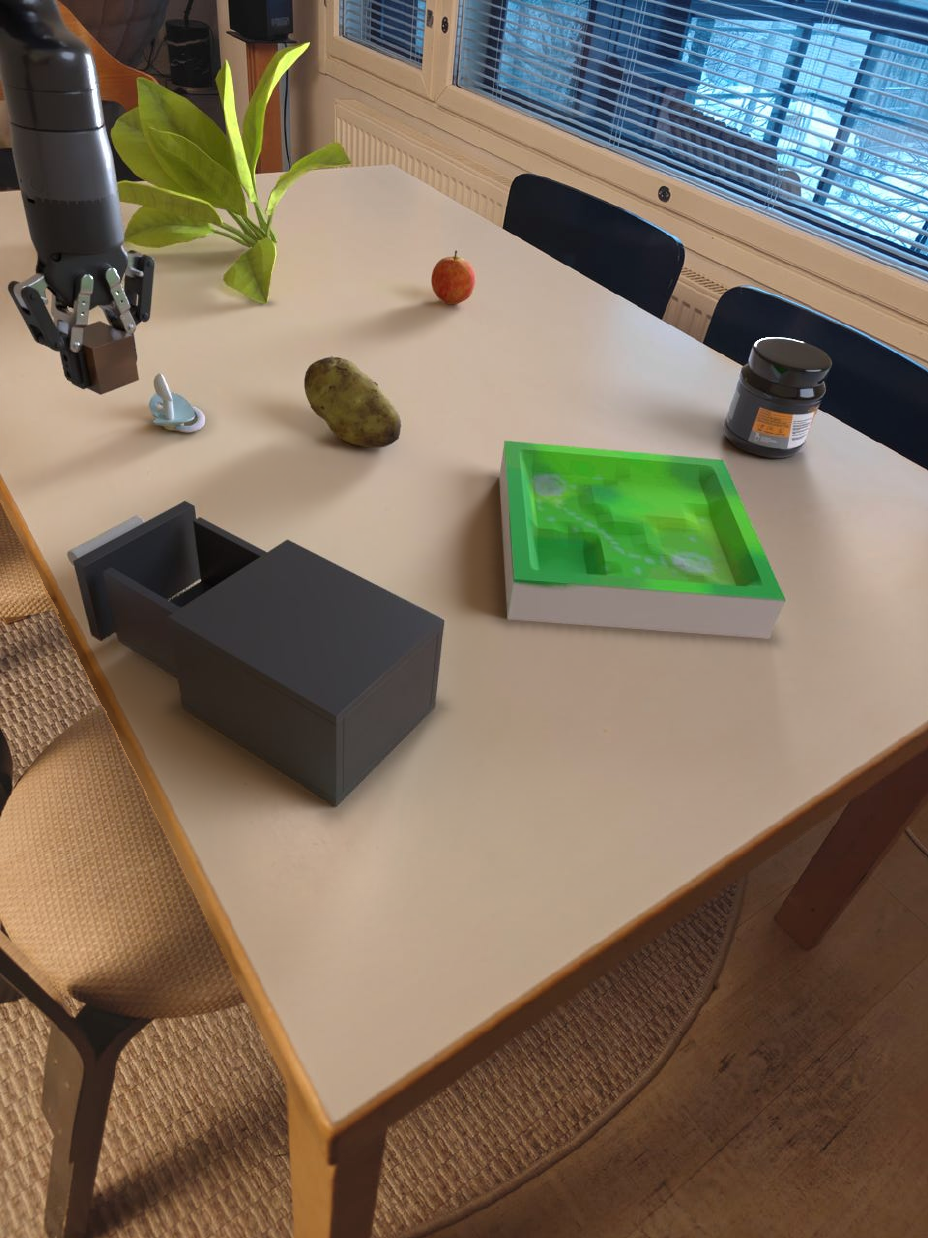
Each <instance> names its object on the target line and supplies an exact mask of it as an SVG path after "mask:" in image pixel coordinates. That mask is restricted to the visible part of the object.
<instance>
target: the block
mask: <svg viewBox="0 0 928 1238" xmlns="http://www.w3.org/2000/svg"><path fill="white" fill-rule="evenodd" d="M82 350H84V351H85V355H86V360H87V366H88V371H89V376H90V381H91V387H89V388H86V389H87V390H90V391H91V392H94V393H96V394H98V395H100V396H102V395H104V394H107V393H109V392H112V391H115V390H117V389H121V388H123V387H125V386H128V385H129V384H132V383H136V382H138V381H140V377H139V370H138V364H137V363H136V356H135V350H134V343H133V337H132V335H131V334H129V333H126V332H124V331H122V330H119V329H117V328H115V327H112V326H110V325H109V323H105V322H104V321H101V320H99V321H96V322H93V323H88V325H87V326H86V327H84V331H83V343H82Z"/></svg>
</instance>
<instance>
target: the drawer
mask: <svg viewBox="0 0 928 1238" xmlns="http://www.w3.org/2000/svg"><path fill="white" fill-rule="evenodd" d="M267 552H268V551H266V550H263V549H262V548H260V547H258V546H256V545H254V544H253V543H250V542H249V541H247V540H245V539H243V538H241V537H239V536H237V535H236V534H233V533H231V532H230V531H227V530H225V529H224V528H222V527H220V526H218V525H216V524H214V523H212V522H210V521H209V520H207V519H205V518H203V517H200V516H199V517H197V512H196V506H195V505H194V504H192V503H191V502H189V501H187V500H184V501H181V502H180V503H178V504H176V505H174V506H172V507H170V508H169V509H166V510H165V511H163V512H161V513H159V514H157V515H156V516H154V517H152V518H149V519H148V520H146V521H145V520H144V519H143V518H142V517H141V516H139V515H134V516H132V517H130V518H129V519H127V520H125V521H123V522H121V523H119V524H117V525H116V526H113V527H112V528H109V529H108V530H105V531H104V532H102V533H99V534H98V535H96V536H94V537H92V538H91V539H89V540H86V541H85V542H83V543H81V544H79V545H77V546H75V547H73V548H72V549H70V550H68V551H67V552H66V556H67V559H68V561H69V562H70V564H71V565H72V566H73V567H74V571H75V575H76V579H77V583H78V587H79V591H80V596H81V600H82V602H83V606H84V607H83V608H84V611H85V616H86V619H87V623H88V627H89V631H90V635H91V636H92V637H93V638H95V639H96V640H98V641H100V642H102V641H104V640H105V639H107V638H109V637H110V636H112V635H114V634H115V633H116V638H117V642H118V643H120V644H122V645H123V646H125V647H127V648H128V649H129V650H131V651H133V652H135V653H136V654H138V655H140V656H141V657H143V658H144V659H146V660H147V661H149V662H150V663H152V664H153V665H155V666H156V667H159V668H160V669H162V670H164V671H165V672H167V673H168V674H170V675H171V676H172V677H174V678H176V679H178V677H177V671H176V665H175V659H174V653H173V647H172V641H171V635H170V629H169V623H168V616H169V615H171V614H173V613H174V612H176V611H177V610H179V609H180V608H182V607H183V606H185V605H186V604H188V603H190V602H191V601H193V600H194V599H196V598H197V597H199V596H200V595H202V594H203V593H205V592H207V591H208V590H210V589H211V588H213V587H214V586H216V585H217V584H219V583H221V582H222V581H224V580H225V579H227V578H228V577H230V576H231V575H233V574H234V573H236V572H238V571H239V570H241V569H242V568H244V567H245V566H247V565H248V564H250V563H251V562H253V561H255V560H256V559H258V558H259V557H261V556H262V555H264V554H265V553H267ZM198 581H199V582H198ZM196 582H197V583H196ZM195 583H196V584H195ZM193 584H194V585H193ZM191 585H192V586H191ZM190 586H191V587H190ZM188 587H190V588H188ZM186 588H188V589H186ZM185 589H186V590H185ZM184 590H185V591H184ZM182 591H183V592H182ZM181 592H182V593H181ZM179 593H180V594H179ZM177 594H179V595H177ZM174 596H176V597H174ZM171 598H172V599H171Z"/></svg>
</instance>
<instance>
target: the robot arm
mask: <svg viewBox="0 0 928 1238" xmlns="http://www.w3.org/2000/svg"><path fill="white" fill-rule="evenodd" d="M0 84H1V88H2V93H3V97H4V103H5V107H6V112H7V117H8V120H9V121H8V122H9V129H10V138H11V139H10V140H11V150H12V151H11V152H12V158H13V162H14V167H15V171H16V176H17V181H18V186H19V188H20V195H21V201H22V203H23V208H24V209H23V210H24V213H25V214H24V215H25V219H26V223H27V228H28V232H29V236H30V241H31V242H32V245H33V246H34V249H35V252H36V255H37V259H36V265H35V273H34V274H33V275H32V276H30V277H28V278H26V279H25V280H24V281H22V282H20V281H18V280H12V281H10V282H9V283H8V285H7V290H8V293H9V295H10V297H11V299H12V300H13V302H14V304H15V306H16V308H17V310H18V312H19V313H20V315H21V317H22V319H23V321H24V323H25V325H26V326H27V328H28V330H29V332H30V335H31V336H32V338H33V340H34V341H35V342H36V343H37V344H39V345H42V346H45V347H47V348H49V349H50V350H52V351H54V352H57V353H58V352H59V357H60V361H61V365H62V371H63V375H64V377H65V379H66V380H67V381H68V382H70V383H71V384H72V385H73V386H76V387H78V388H79V389H81V390H86V389H87V388H89V387H91V381H90V376H89V371H88V366H87V360H86V355H85V351H84V350H82V343H83V331H84V327H86V326H87V325H89V316H90V311H92V310H94V309H95V308H97V307H99V308H100V309H101V310H102V312H103V315H104V317H105V319H106V320H107V324H108V325H110V326H112V327H115V328H117V329H119V330H122V331H124V332H126V333H129V334H131V335H132V337H133V343H134V350H135V356H136V363H137V362H138V353H137V346H136V345H137V344H136V339H135V338H136V337H135V332H136V330H137V327H138V325H140V324H141V323H142V322H143V323H147V322H149V321H150V319H151V311H152V300H153V288H154V277H155V266H156V261H155V259H154V257H152V256H150V255H147V254H144V253H141V252H139V251H137V250H133V249H130V250H128V251H126V250H125V248H124V246H123V244H124V242H125V241H124V239H125V235H124V233H125V229H124V222H123V217H122V216H123V214H122V208H121V202H120V201H119V194H118V187H117V182H118V180H117V175H116V168H115V162H114V161H115V159H114V156H113V150H112V146H111V143H110V140H109V136H108V131H107V127H106V124H105V123H106V122H105V115H104V107H103V102H102V96H101V87H100V81H99V76H98V70H97V66H96V60H95V57H94V54H93V53H92V50H91V48H90V47H89V46H88V44H87V43H86V42H85V41H83V39H82V38H80V37H79V36H77V35H76V34H75V33H74V32H72V31H71V30H70V28H68V27H67V25H66V23H65V22H64V20H63V17H62V15H61V12H60V8H59V6H58V3H57V0H0ZM123 278H124V282H123V286H122V281H123ZM46 290H48V291H49V292H50V293H51V304H50V312H49V310H48V308H47V306H46V305H47V304H49V299H47V296H46ZM69 308H70V309H72V311H71V310H69Z"/></svg>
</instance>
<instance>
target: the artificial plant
mask: <svg viewBox="0 0 928 1238" xmlns="http://www.w3.org/2000/svg"><path fill="white" fill-rule="evenodd" d="M310 43H311V42H310V41H309V42H304V43H301V44H298V45H295V46H287V47H284V48H283V49H280V50H278V51H276V52H275V54H274V55H273V56H272V58H271V59H270V61H269V62H268V63H267V65H266V68H265V69H264V72H263V73H262V75H261V78H260V80H259V81H258V84H257V86H256V87H255V90H254V92H253V94H252V96H251V98H250V99H249V101H248V105H247V108H246V111H245V113H244V117H243V120H242V124H241V131H240V128H239V124H238V117H237V113H236V106H235V95H234V86H233V79H232V71H231V68H230V65H229V61H228V60H227V59H225V60H224V62H223V65H222V67H221V68H220V69H219V70H218V72H217V74H216V77H215V80H214V81H215V83H216V87H217V91H218V94H219V98H220V103H221V107H222V111H223V113H224V119H225V120H224V122H225V126H226V132H227V135H228V137H227V135H226V134H225V133H224V131H223V130H222V129H221V128H220V127H219V126H218V125H217V123H216V122H215V121H214V120H213V119H212V118H210V116H208V115H207V114H206V113H204V112H203V111H202V110H201V109H199V108H198V107H197V106H196V105H195V104H194V103H192V102H191V101H190V100H189V99H188V98H186V97H184V96H182V95H180V94H178V93H176V92H174V91H173V90H171V89H170V88H169V89H168V88H166V87H164V86H163V85H161V84H159V83H157V82H155V81H153V80H150V79H148V78H145V77H141V76H138V77H136V89H137V104H138V105H137V106H136V107H133V108H131V110H129V111H127V112H124V113H123V114H122V115H121V116H119V117H118V118H117V119H116V121H115V123H114V125H113V127H112V128H111V129H110V138H111V141H112V144H113V147H114V150H115V151H116V152H117V154H118V155H119V157H120V159H121V160H122V162H123V163H124V164H125V165H126V167H127V168H129V170H130V171H131V172H132V173H133V174H134V175H135V176H136V177H137V178H140V179H142V180H143V181H145V182H147V183H143V182H136V181H132V180H127V179H124V180H120V181H117V187H118V194H119V201H120V203H124V204H125V203H126V204H130V205H131V204H132V205H137V206H140V207H139V208H138V209H137V210H136V211H135V212H134V213H133V214H132V216H131V219H130V220H129V222H128V224H127V226H126V229H125V230H124V235H125V239H124V242H126V243H129V244H133V245H135V246H140V247H143V248H154V249H160V248H165V247H168V246H172V245H175V244H181V243H188V242H191V241H194V240H196V239H201V238H206V237H208V236H210V235H213V234H216V235H220V236H223V237H226V238H229V239H231V240H233V241H234V242H237V243H238V244H240V245H242V246H245V247H247V248H249V249H248V250H246V251H245V252H244V253H243V254H241V255H240V256H239V257H238V258H237V259H236V260H235V261H234V263H233V264H232V265H231V266H230V267H229V268H228V269H227V271H225V273H224V274H223V277H222V281H223V282H224V284H225V285H226V286H228V287H229V288H231V289H232V290H235V291H237V292H239V293H241V294H243V295H244V296H245V297H247V298H249V299H251V300H252V301H255V302H258V303H260V304H264V305H266V304H267V303H268V301H269V295H270V288H271V284H272V283H271V282H272V273H273V271H274V266H275V262H276V260H277V259H276V258H277V247H276V244H277V243H278V241H279V237H278V235H277V233H276V231H275V229H273V227H272V221H273V216H274V213H275V211H276V208H277V206H278V204H279V202H280V201H281V199H282V198H283V196H284V195H285V193H286V192H287V190H288V189H289V188H290V187H291V186H292V185H293V184H294V183H295V182H296V181H297V180H298V179H300V178H301V177H303V176H304V175H306V174H308V173H310V172H311V171H315V170H317V169H318V170H319V169H325V168H342V167H350V166H351V165H352V161H351V160H350V157H349V156H348V154H347V152H346V150H345V148H344V147H343V146H342V144H341V143H340V142H339V141H333V142H330V143H328V144H326V145H325V146H323V147H320V148H319V149H316V150H315V151H313V152H310V153H309V154H307V155H305V156H303V157H301V158H300V159H299V160H297V161H296V162H295V163H293V164H292V166H291V167H290V169H289V170H288V171H287V172H284V173H283V174H282V175H279V178H278V179H277V182H276V184H275V186H274V187H273V189H272V190H271V192H270V194H269V197H268V199H267V204H266V207H265V209H264V212H263V210H262V208H261V206H260V201H259V196H258V188H257V181H256V169H257V163H258V160H259V158H260V154H261V152H262V148H263V145H262V144H263V136H264V124H265V113H266V109H267V105H268V102H269V100H270V98H271V95H272V94H273V91H274V89H275V87H276V86H277V84H278V83H279V81H280V79H281V78H282V76H283V75H284V74H285V73H286V72H287V71H288V69H289V68H290V67H291V66H292V65H293V64H294V63H295V62H296V60H297V59H298V58H299V57H300V56H302V54H304V52H305V51H306V50H307V49H308V48H309V46H310ZM228 139H229V140H228ZM148 183H149V184H148ZM244 192H245V193H244ZM245 194H246V196H247V198H248V201H249V202H250V203H253V206H254V209H255V213H256V218H257V220H258V225H257V223H255V222H254V221H253V220H252V219H251V218H250V217H249V210H248V209H249V207H248V203H247V200H246V196H245ZM217 209H220V210H225V211H226V212H227V213H228V214H229V215H230V216H231V217H232V219H233V220H234V221H235V223H236V224H237V225H238V226H239V228H240V230H239V229H238V228H235V227H234V226H232V225H230V224H228V223H226V222H224V221H223V218H222V217H221V215H220V214H219V212H218V210H217ZM264 214H265V215H267V219H266V217H265V215H264ZM213 225H214V226H216V227H218V228H220V229H223V230H225V231H227V232H224V231H221V230H219V229H215V227H214V226H213ZM228 232H229V233H228Z"/></svg>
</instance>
